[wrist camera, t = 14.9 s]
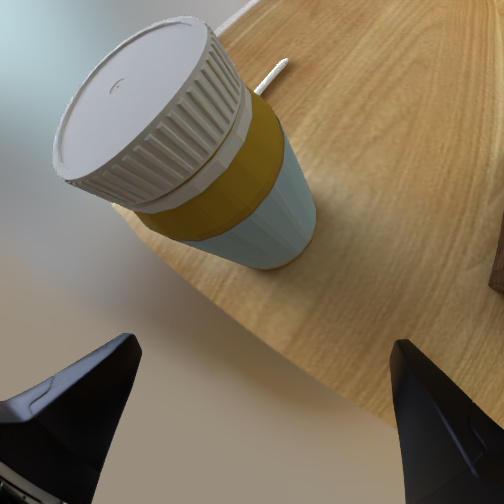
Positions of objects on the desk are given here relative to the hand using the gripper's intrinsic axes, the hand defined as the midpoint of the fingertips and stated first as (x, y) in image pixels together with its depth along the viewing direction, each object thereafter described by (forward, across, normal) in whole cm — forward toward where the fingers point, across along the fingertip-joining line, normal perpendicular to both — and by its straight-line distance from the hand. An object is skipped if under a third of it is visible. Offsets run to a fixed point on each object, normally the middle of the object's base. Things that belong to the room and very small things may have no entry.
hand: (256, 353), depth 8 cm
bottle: (+13, +1, 0) cm, 13 cm away
